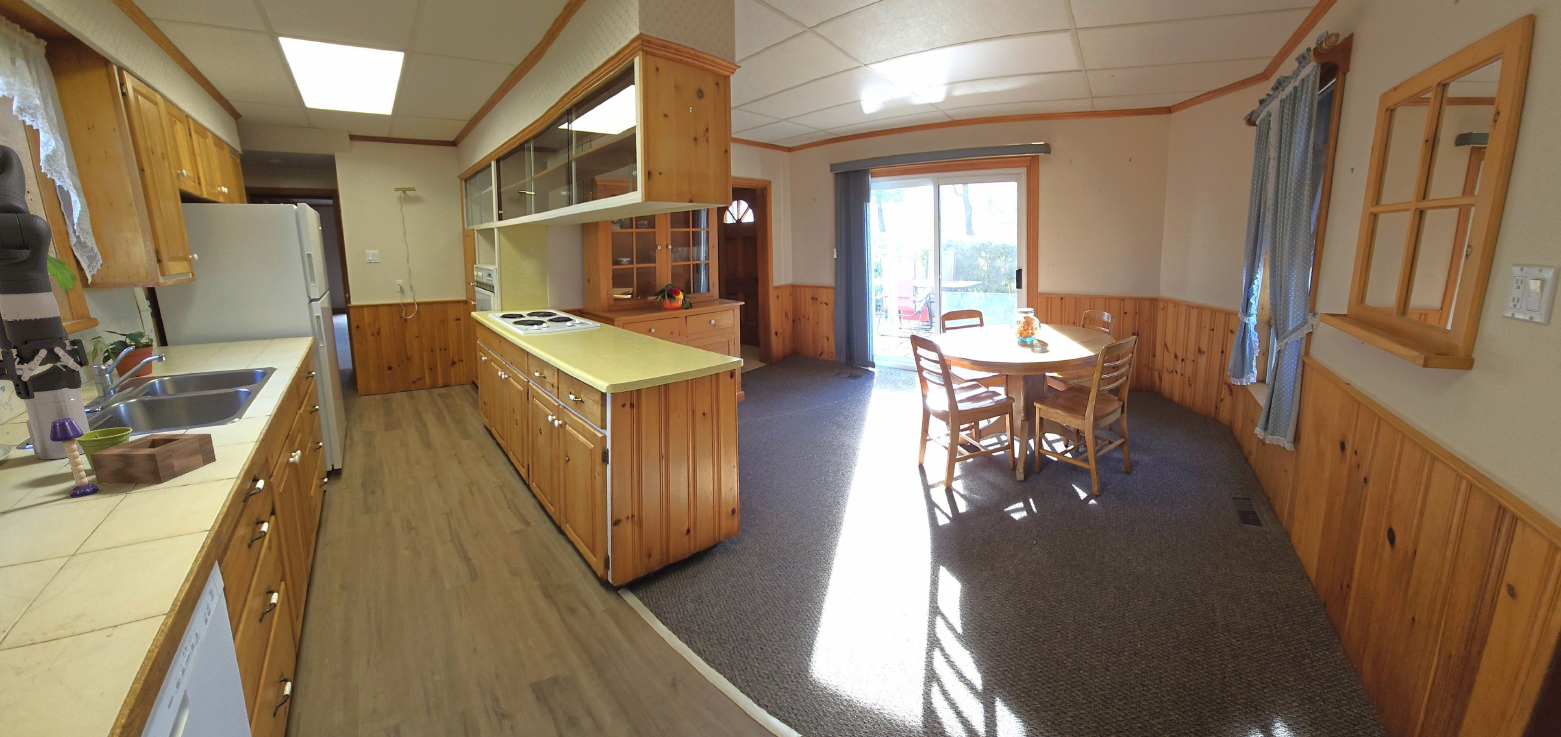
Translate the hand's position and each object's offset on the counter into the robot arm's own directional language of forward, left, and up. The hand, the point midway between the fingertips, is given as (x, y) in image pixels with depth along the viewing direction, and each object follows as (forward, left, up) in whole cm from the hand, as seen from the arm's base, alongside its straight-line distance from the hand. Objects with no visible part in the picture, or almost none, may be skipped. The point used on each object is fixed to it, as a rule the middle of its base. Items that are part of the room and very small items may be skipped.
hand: (51, 393), depth 127 cm
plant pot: (-9, +16, -23) cm, 29 cm away
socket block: (+5, +13, -22) cm, 26 cm away
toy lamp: (0, +1, -23) cm, 23 cm away
